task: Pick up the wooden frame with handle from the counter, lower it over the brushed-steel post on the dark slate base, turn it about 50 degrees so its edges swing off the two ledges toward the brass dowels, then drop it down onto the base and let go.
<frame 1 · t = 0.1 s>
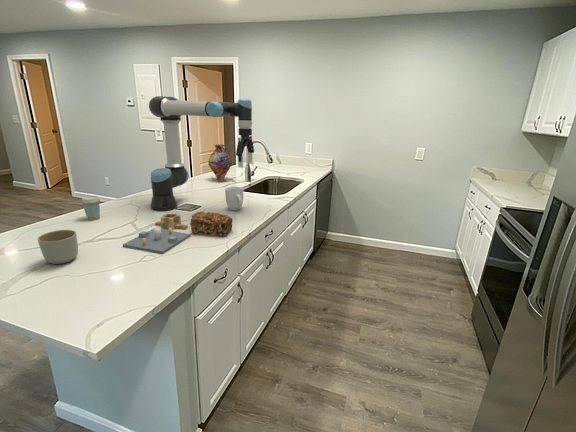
hand: (245, 165, 186), 28 cm above the counter, fingers open, 13 cm apart
vase: (220, 181, 267), on the counter
bread: (212, 232, 161), on the counter
post base: (158, 241, 148), on the counter
wooden frame with handle: (171, 226, 166), on the counter
mug: (235, 209, 197), on the counter
planter: (62, 260, 128), on the counter
coffee cup: (93, 219, 174), on the counter
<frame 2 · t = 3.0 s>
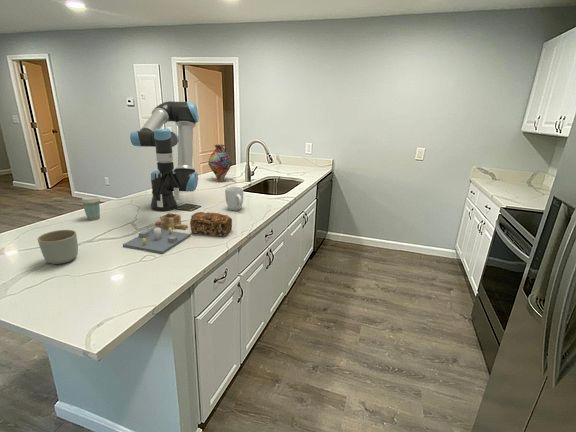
hand: (169, 203, 161), 13 cm above the counter, fingers open, 13 cm apart
nothing on the counter moved.
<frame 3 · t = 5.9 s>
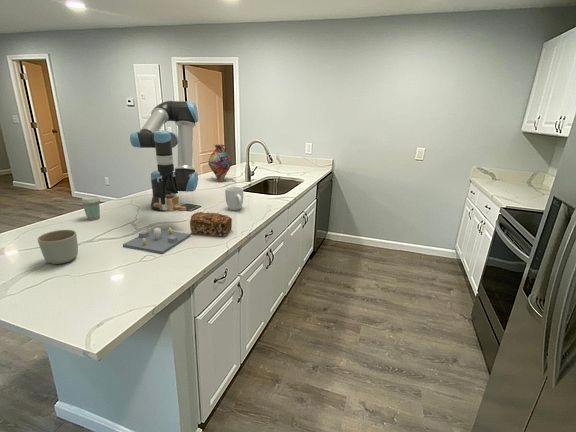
hand: (169, 207, 163), 10 cm above the counter, fingers closed on wooden frame with handle, 7 cm apart
wooden frame with handle: (170, 208, 163), point 10 cm above the counter, touching gripper
everything else where it was.
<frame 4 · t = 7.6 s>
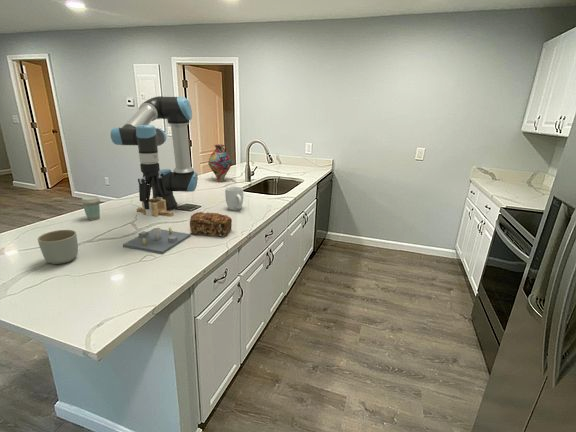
hand: (155, 213, 143), 14 cm above the counter, fingers closed on wooden frame with handle, 7 cm apart
wooden frame with handle: (155, 213, 143), point 14 cm above the counter, touching gripper
everything else where it was.
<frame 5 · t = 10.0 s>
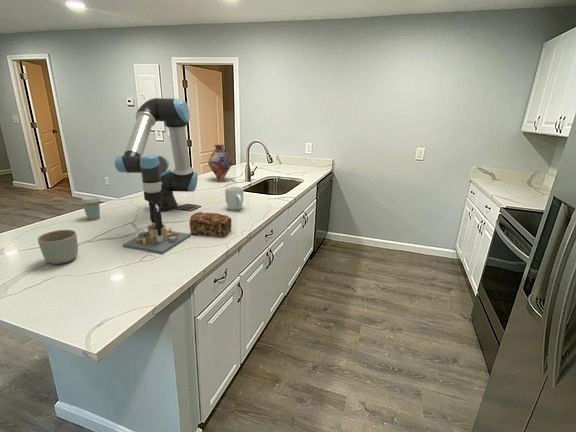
hand: (158, 238, 147), 1 cm above the counter, fingers closed on wooden frame with handle, 7 cm apart
wooden frame with handle: (158, 239, 148), point 1 cm above the counter, touching gripper, post base
everything else where it was.
when the fingers open (1 cm above the counter, at t = 10.3 s): wooden frame with handle stays where it is, resting on post base.
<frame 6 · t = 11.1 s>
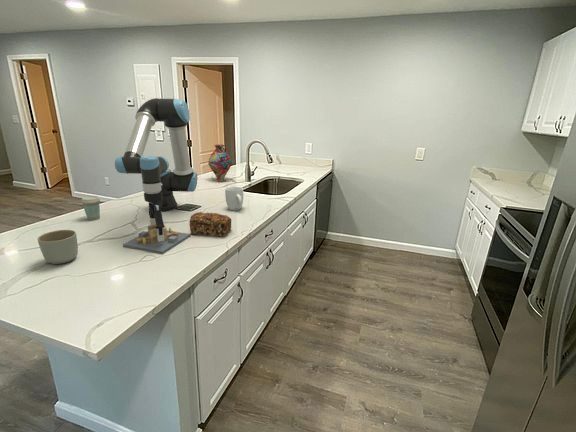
hand: (157, 235, 147), 3 cm above the counter, fingers open, 13 cm apart
wooden frame with handle: (158, 239, 148), point 1 cm above the counter, touching post base
everything else where it was.
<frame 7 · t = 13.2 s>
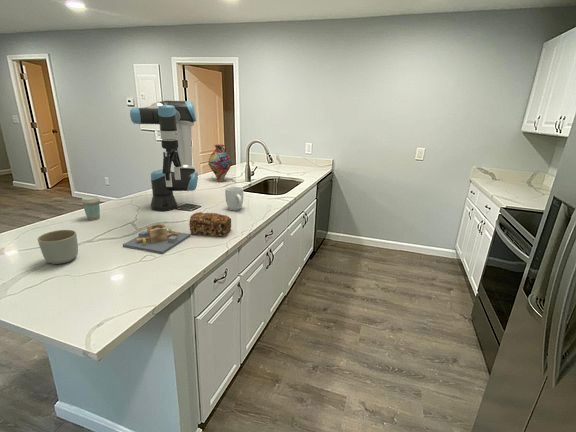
hand: (173, 183, 158), 24 cm above the counter, fingers open, 13 cm apart
nothing on the counter moved.
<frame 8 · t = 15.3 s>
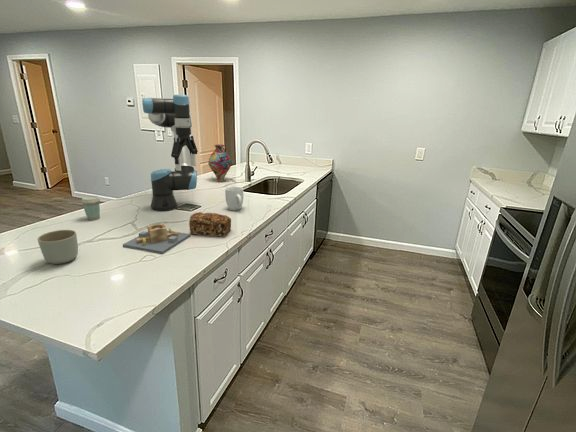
hand: (186, 168, 169), 29 cm above the counter, fingers open, 13 cm apart
nothing on the counter moved.
at the end: wooden frame with handle 0.1 cm from the post base (horizontally); wooden frame with handle point 1.2 cm above the counter; the gripper is holding nothing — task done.
